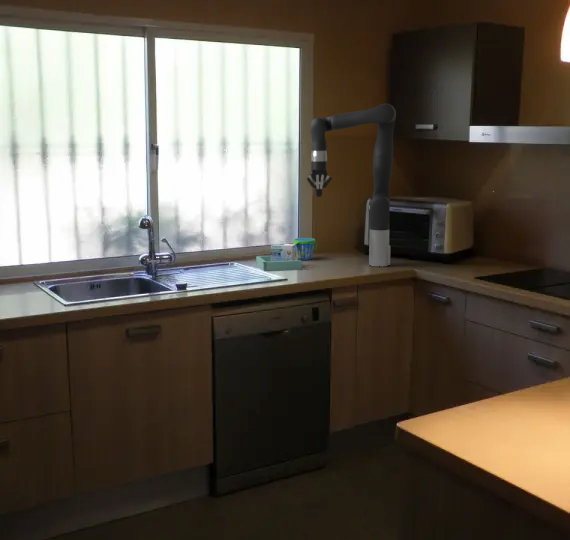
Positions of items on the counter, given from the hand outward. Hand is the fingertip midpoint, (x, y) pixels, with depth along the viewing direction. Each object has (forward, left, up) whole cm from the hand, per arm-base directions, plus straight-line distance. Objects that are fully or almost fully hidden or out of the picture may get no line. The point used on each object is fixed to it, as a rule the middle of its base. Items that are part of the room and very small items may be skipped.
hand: (318, 196), depth 362 cm
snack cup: (+4, -11, -32) cm, 34 cm away
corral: (+22, +7, -32) cm, 39 cm away
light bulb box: (+19, +7, -32) cm, 38 cm away
